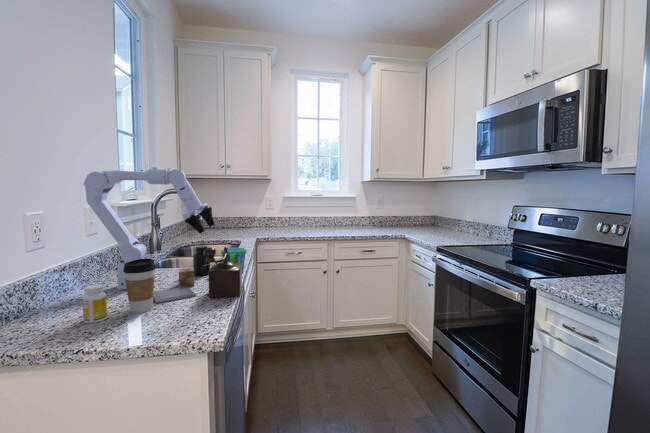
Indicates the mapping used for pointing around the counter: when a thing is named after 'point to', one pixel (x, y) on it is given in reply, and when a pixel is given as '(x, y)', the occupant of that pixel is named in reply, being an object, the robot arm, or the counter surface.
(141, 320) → the counter surface
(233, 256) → the snack cup
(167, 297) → the coaster
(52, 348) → the counter surface
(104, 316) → the supplement bottle
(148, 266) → the coffee cup
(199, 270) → the supplement bottle
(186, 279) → the block
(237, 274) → the manual coffee grinder
